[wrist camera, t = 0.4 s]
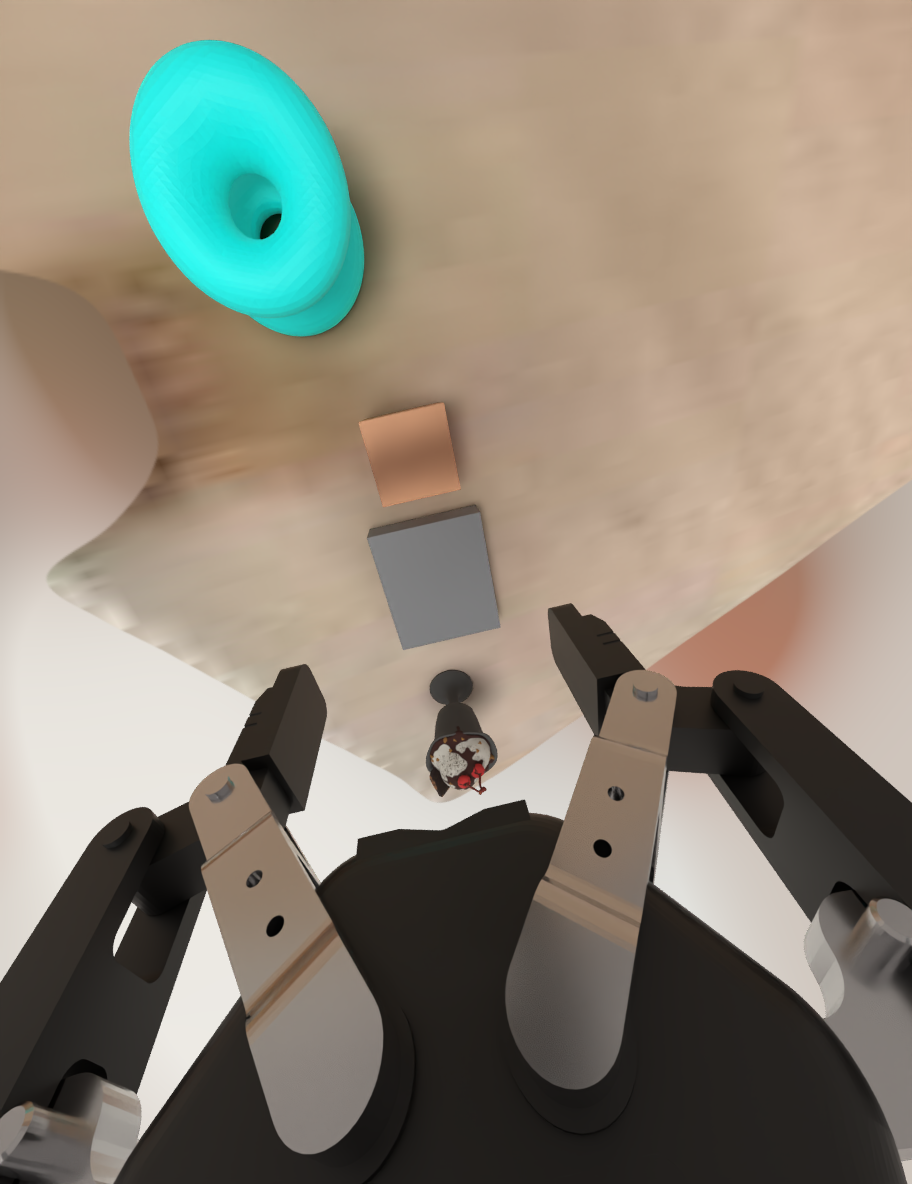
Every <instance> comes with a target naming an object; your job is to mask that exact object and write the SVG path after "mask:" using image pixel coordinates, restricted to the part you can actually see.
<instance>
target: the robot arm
mask: <svg viewBox="0 0 912 1184" xmlns="http://www.w3.org/2000/svg"><path fill="white" fill-rule="evenodd" d="M548 620H549V631H550V641H551V649H552V653H553V657H554V660H555V663H556V665H557V667H558V669H559V670H560V672H561V674H562V676H563V678H564V680H565V681H566V683H567V685H568V687H569V689H570V691H571V692H572V694H573V696H574V698H575V700H576V702H577V704H578V705H579V707H580V709H581V711H582V713H583V715H584V716H585V718H586V720H587V722H588V724H589V725H590V727H591V729H592V731H593V733H594V736H593V738H592V740H591V743H590V745H589V748H588V751H587V754H586V757H585V760H584V763H583V766H582V769H581V772H580V775H579V778H578V781H577V784H576V787H575V790H574V793H573V796H572V799H571V802H570V805H569V808H568V811H567V814H566V817H565V820H561V819H559V818H556V817H552V816H549V815H543V814H537V813H529V812H528V808H527V805H526V802H525V800H521V801H516V802H512V803H508V804H504V805H500V806H496V807H491V808H487V809H483V810H482V811H480V812H478V813H476V814H474V815H472V816H470V817H468V818H466V819H464V820H462V821H461V822H458V823H457V824H455V825H453V826H451V827H449V828H447V829H445V830H439V831H438V830H410V829H397V830H393V831H389V832H385V833H381V834H376V835H372V836H368V837H363V838H360V839H358V845H357V854H356V855H355V856H353V857H351V858H350V859H348V860H347V861H345V862H344V863H342V864H341V865H340V866H339V867H337V868H336V869H335V870H334V871H332V873H331V874H329V875H328V876H327V877H326V878H325V879H324V880H323V882H322V883H321V882H320V881H319V879H318V878H317V876H316V874H315V873H314V871H313V869H312V868H311V866H310V864H309V863H308V861H307V859H306V857H305V856H304V854H303V852H302V851H301V849H300V847H299V846H298V844H297V842H296V841H295V839H294V838H293V836H292V834H291V832H290V831H289V829H288V828H287V826H286V822H287V818H288V815H289V814H291V813H295V812H300V811H304V810H305V806H306V802H307V798H308V793H309V789H310V785H311V781H312V777H313V772H314V768H315V764H316V759H317V755H318V751H319V747H320V743H321V739H322V734H323V730H324V726H325V722H326V717H327V708H326V703H325V699H324V697H323V695H322V693H321V691H320V689H319V687H318V685H317V682H316V680H315V678H314V676H313V674H312V672H311V670H310V668H309V667H308V666H307V665H306V664H303V665H299V666H294V667H290V668H286V669H282V670H281V671H280V672H279V674H278V676H277V679H276V681H275V683H274V686H273V687H272V688H268V689H267V690H266V691H265V692H264V693H263V694H262V695H261V696H260V697H259V698H258V700H257V701H256V702H255V704H254V706H253V708H252V711H251V713H250V717H248V719H247V721H246V723H245V728H243V729H242V732H241V734H240V736H239V738H238V740H237V742H236V745H235V746H234V749H233V751H232V753H231V755H230V757H229V759H228V761H227V763H226V766H224V767H221V768H219V769H217V770H216V771H214V772H213V773H211V774H210V775H209V776H207V777H206V778H205V779H204V780H203V781H202V782H201V783H200V784H199V785H198V786H197V787H196V789H195V790H194V792H193V793H192V795H191V797H190V801H189V802H187V803H185V804H183V805H181V806H179V807H177V808H175V809H173V810H171V811H169V812H167V813H165V814H163V815H161V816H159V817H157V816H156V815H155V814H154V813H153V812H152V811H151V810H150V809H149V808H146V807H140V808H135V809H132V810H129V811H127V812H125V813H123V814H121V815H120V816H118V817H116V818H115V819H113V820H112V821H111V822H109V823H108V824H107V825H106V826H105V827H104V828H102V830H100V831H99V832H98V833H97V835H96V836H95V837H94V838H93V839H92V841H91V842H90V843H89V845H88V846H87V848H86V850H85V851H84V853H83V854H82V856H81V857H80V859H79V861H78V862H77V864H76V865H75V867H74V868H73V870H72V871H71V873H70V875H69V876H68V878H67V879H66V881H65V882H64V884H63V886H62V887H61V889H60V890H59V892H58V893H57V895H56V897H55V898H54V900H53V901H52V903H51V904H50V906H49V907H48V909H47V911H46V912H45V914H44V915H43V917H42V918H41V920H40V922H39V923H38V925H37V926H36V928H35V929H34V931H33V933H32V934H31V936H30V937H29V939H28V940H27V942H26V944H25V945H24V947H23V948H22V950H21V951H20V953H19V955H18V956H17V958H16V959H15V961H14V962H13V964H12V965H11V967H10V969H9V970H8V972H7V973H6V975H5V976H4V978H3V980H2V981H1V983H0V1184H907V1181H906V1178H905V1174H904V1170H903V1167H902V1163H901V1161H905V1160H912V803H911V802H910V801H909V800H908V799H907V798H906V797H904V796H903V795H902V794H901V793H900V792H899V791H898V790H897V789H895V788H894V787H893V786H892V785H891V784H890V783H888V781H886V780H885V779H884V778H883V777H882V776H881V775H880V774H878V773H877V772H876V771H875V770H874V769H873V768H871V766H869V765H868V764H867V763H866V762H865V761H864V760H863V759H861V758H860V757H859V756H858V755H857V754H856V753H855V752H854V751H852V750H851V749H850V748H849V747H848V746H847V745H846V744H844V743H843V742H842V741H841V740H840V739H839V738H838V737H836V736H835V735H834V734H833V733H832V732H831V731H830V730H828V729H827V728H826V727H825V726H824V725H823V724H822V723H821V722H819V721H818V720H817V719H816V718H815V717H814V716H813V715H812V714H810V713H809V712H808V711H807V710H806V709H805V708H804V707H802V706H801V705H800V704H799V703H798V702H797V701H796V700H794V699H793V698H792V697H791V696H790V695H789V694H788V693H787V692H785V691H784V690H783V689H782V688H781V687H780V686H779V685H777V684H776V683H775V682H774V681H772V680H770V679H769V678H767V677H764V676H762V675H759V674H756V673H753V672H747V671H740V670H735V671H727V672H723V673H721V674H719V675H718V676H716V678H715V679H714V681H713V686H712V687H681V686H675V685H674V684H673V683H672V682H671V681H670V680H669V679H668V678H666V677H665V676H663V675H661V674H659V673H656V672H652V671H647V670H645V668H644V667H643V666H642V665H641V664H640V662H639V661H638V660H637V659H636V658H635V657H634V655H633V654H632V653H631V652H630V651H629V649H628V648H627V647H626V646H625V645H624V644H623V642H622V641H620V639H619V638H618V636H617V635H616V634H615V633H613V631H612V629H611V628H610V627H609V626H608V625H607V624H606V622H605V621H603V620H601V619H599V618H597V617H595V616H593V615H592V614H590V615H586V616H581V615H580V613H579V612H578V611H577V609H576V608H575V607H574V605H573V604H571V603H570V604H565V605H561V606H557V607H552V608H549V609H548ZM669 771H678V772H692V773H706V774H708V776H709V777H710V778H711V780H712V781H713V783H714V784H715V786H716V787H717V788H718V790H719V791H720V793H721V794H722V796H723V797H724V798H725V800H726V801H727V803H728V804H729V806H730V807H731V808H732V810H733V811H734V813H735V814H736V816H737V817H738V819H739V820H740V821H741V823H742V824H743V826H744V827H745V829H746V830H747V831H748V832H749V834H750V836H751V837H752V839H753V840H754V841H755V843H756V844H757V846H758V847H759V849H760V850H761V851H762V853H763V854H764V856H765V857H766V858H767V860H768V861H769V863H770V864H771V866H772V867H773V868H774V870H775V871H776V873H777V874H778V876H779V877H780V879H781V880H782V881H783V883H784V884H785V886H786V887H787V889H788V890H789V891H790V893H791V894H792V896H793V897H794V899H795V900H796V901H797V903H798V904H799V906H800V907H801V908H802V910H803V911H804V913H805V914H806V916H807V917H808V918H809V920H810V921H811V924H810V927H809V929H808V930H807V933H806V935H805V939H804V950H805V955H806V959H807V961H808V964H809V967H810V968H811V970H812V972H813V974H814V976H815V978H816V980H817V982H818V984H819V986H820V989H821V991H822V994H823V997H824V1002H825V1007H826V1018H824V1019H822V1018H821V1016H820V1015H819V1014H818V1013H817V1012H816V1011H815V1010H814V1009H813V1008H812V1007H811V1006H810V1005H809V1004H808V1003H807V1002H806V1001H805V1000H804V999H803V998H802V997H801V996H800V995H799V994H797V993H796V992H795V991H794V990H793V989H792V988H790V987H789V986H788V985H787V984H785V983H784V982H782V981H781V980H780V979H779V978H777V977H776V976H774V975H773V974H772V973H771V972H769V971H768V970H767V969H765V968H764V967H763V966H761V965H760V964H759V963H757V962H756V961H755V960H753V959H752V958H751V957H749V956H748V955H747V954H745V953H744V952H743V951H741V950H740V949H739V948H737V947H736V946H735V945H733V944H732V943H731V942H729V941H728V940H727V939H725V938H724V937H723V936H722V935H720V934H719V933H717V932H716V931H715V930H714V929H712V928H711V927H709V926H708V925H707V924H706V923H704V922H703V921H702V920H700V919H699V918H698V917H696V916H695V915H694V914H692V913H691V912H690V911H688V910H687V909H686V908H684V907H683V906H681V905H680V904H679V903H678V902H676V901H675V900H674V899H672V898H671V897H670V896H668V895H667V894H666V893H664V892H663V891H662V890H660V889H659V888H658V887H656V886H655V885H654V878H655V872H656V864H657V856H658V848H659V840H660V832H661V825H662V818H663V810H664V804H665V797H666V789H667V782H668V775H669ZM206 891H208V894H209V897H210V900H211V903H212V907H213V910H214V913H215V916H216V919H217V922H218V925H219V928H220V932H221V935H222V938H223V940H224V944H225V947H226V950H227V953H228V957H229V960H230V963H231V966H232V969H233V972H234V975H235V978H236V981H237V985H238V987H239V991H240V994H241V996H240V998H239V999H238V1000H237V1002H236V1003H235V1005H234V1006H233V1008H232V1009H231V1011H230V1012H229V1014H228V1015H227V1016H226V1017H225V1019H224V1020H223V1022H222V1023H221V1025H220V1026H219V1027H218V1029H217V1030H216V1032H215V1033H214V1035H213V1036H212V1037H211V1039H210V1040H209V1042H208V1043H207V1045H206V1046H205V1047H204V1049H203V1050H202V1052H201V1053H200V1054H199V1056H198V1058H197V1059H196V1060H195V1062H194V1063H193V1065H192V1066H191V1067H190V1069H189V1070H188V1072H187V1073H186V1074H185V1076H184V1077H183V1079H182V1080H181V1082H180V1083H179V1085H178V1086H177V1087H176V1089H175V1090H174V1092H173V1093H172V1095H171V1096H170V1097H169V1099H168V1100H167V1102H166V1103H165V1105H164V1106H163V1108H162V1109H161V1110H160V1112H159V1113H158V1114H157V1116H156V1117H155V1119H154V1120H153V1121H152V1123H151V1124H150V1126H149V1127H148V1129H147V1130H146V1131H145V1133H144V1134H143V1136H142V1137H141V1139H140V1140H139V1139H137V1138H138V1134H139V1129H140V1123H141V1105H140V1101H139V1098H138V1096H137V1092H138V1089H139V1086H140V1083H141V1080H142V1077H143V1074H144V1072H145V1069H146V1066H147V1063H148V1060H149V1057H150V1054H151V1051H152V1048H153V1045H154V1042H155V1039H156V1037H157V1034H158V1031H159V1028H160V1025H161V1022H162V1019H163V1016H164V1013H165V1010H166V1007H167V1005H168V1002H169V999H170V996H171V993H172V990H173V987H174V984H175V981H176V978H177V975H178V972H179V970H180V967H181V964H182V961H183V958H184V955H185V952H186V949H187V946H188V943H189V941H190V937H191V935H192V932H193V929H194V926H195V923H196V920H197V917H198V914H199V911H200V909H201V906H202V903H203V900H204V897H205V894H206ZM131 902H132V903H133V904H135V905H136V906H137V909H136V911H135V913H134V916H133V918H132V920H131V922H130V924H129V927H128V928H127V931H126V933H125V935H124V937H123V939H122V941H121V943H120V946H119V948H118V950H117V952H116V954H115V956H113V943H114V939H115V936H116V933H117V931H118V929H119V927H120V925H121V923H122V921H123V918H124V917H125V915H126V913H127V910H128V908H129V906H130V904H131Z"/></svg>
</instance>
